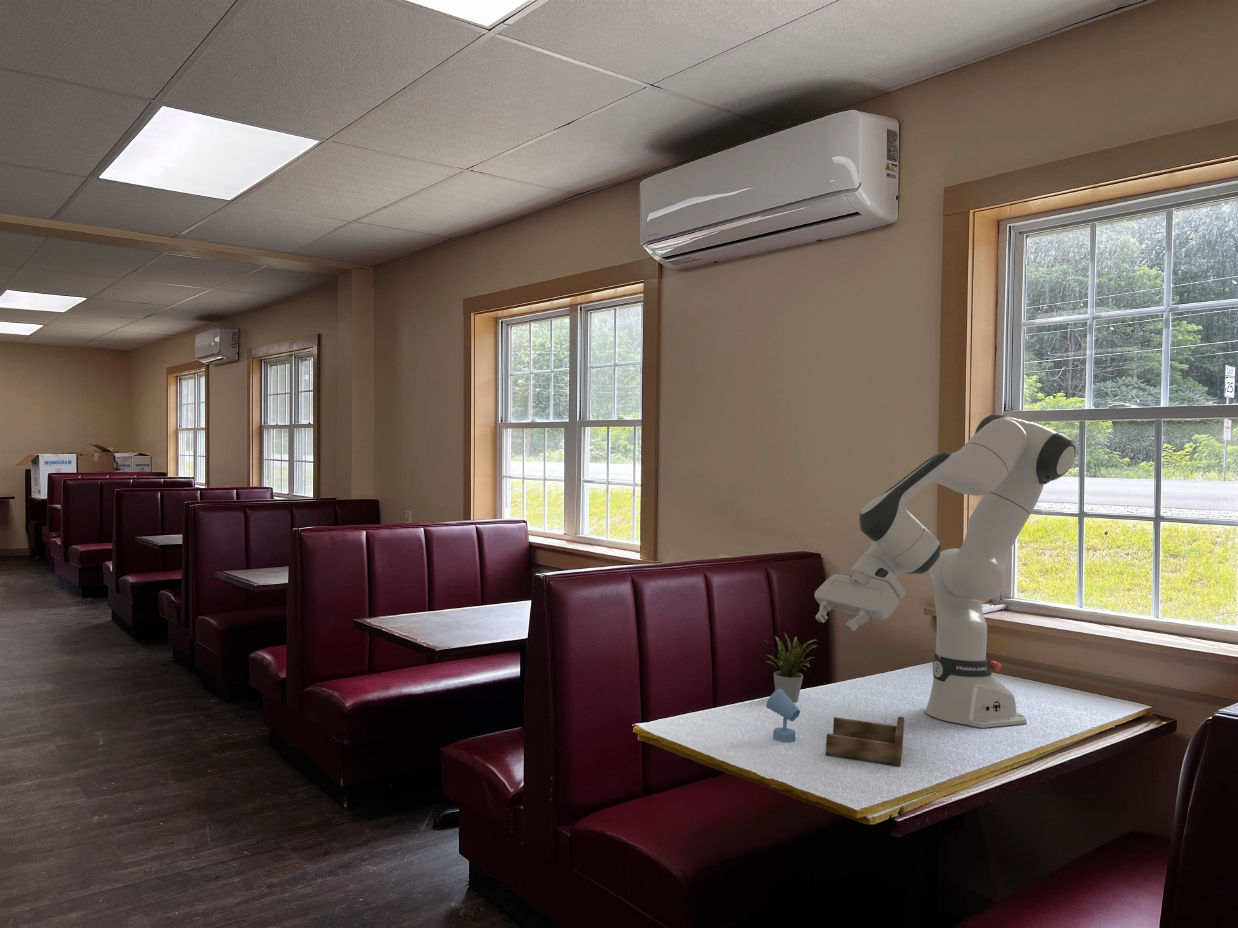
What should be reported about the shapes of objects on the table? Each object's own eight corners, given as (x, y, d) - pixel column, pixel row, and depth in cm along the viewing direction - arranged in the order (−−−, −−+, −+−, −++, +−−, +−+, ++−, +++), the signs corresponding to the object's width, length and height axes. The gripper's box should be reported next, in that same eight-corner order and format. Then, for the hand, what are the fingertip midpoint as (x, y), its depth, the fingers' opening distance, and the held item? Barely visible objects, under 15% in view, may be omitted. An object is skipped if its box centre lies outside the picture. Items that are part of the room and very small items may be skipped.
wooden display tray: (825, 755, 172) (827, 724, 172) (833, 735, 185) (834, 707, 185) (900, 766, 167) (901, 735, 167) (902, 746, 180) (904, 717, 180)
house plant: (832, 701, 213) (836, 634, 213) (805, 712, 202) (809, 641, 203) (781, 689, 222) (784, 625, 222) (752, 699, 212) (755, 631, 212)
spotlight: (761, 736, 182) (790, 744, 178) (764, 688, 182) (792, 695, 178) (774, 731, 186) (803, 739, 181) (777, 684, 186) (805, 691, 181)
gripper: (830, 562, 200) (794, 605, 196) (898, 574, 182) (860, 622, 178) (844, 581, 202) (809, 625, 198) (912, 595, 184) (875, 643, 180)
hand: (834, 624), depth 187 cm, fingers open, 8 cm apart
